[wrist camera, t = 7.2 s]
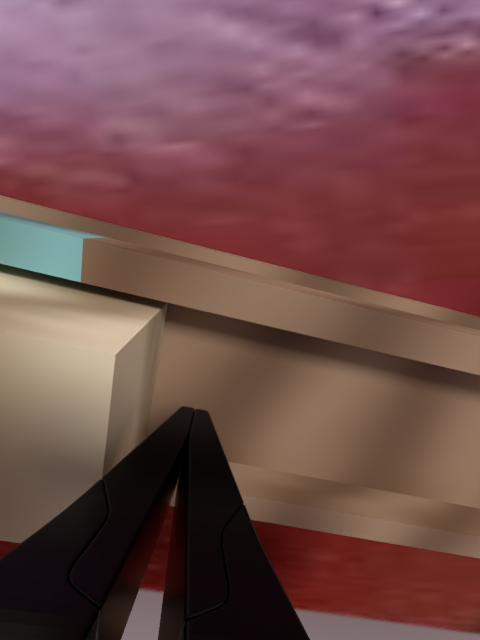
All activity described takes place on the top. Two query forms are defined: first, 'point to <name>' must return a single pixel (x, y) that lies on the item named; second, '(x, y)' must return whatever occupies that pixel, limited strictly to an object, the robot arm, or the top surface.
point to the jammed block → (68, 390)
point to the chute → (296, 379)
